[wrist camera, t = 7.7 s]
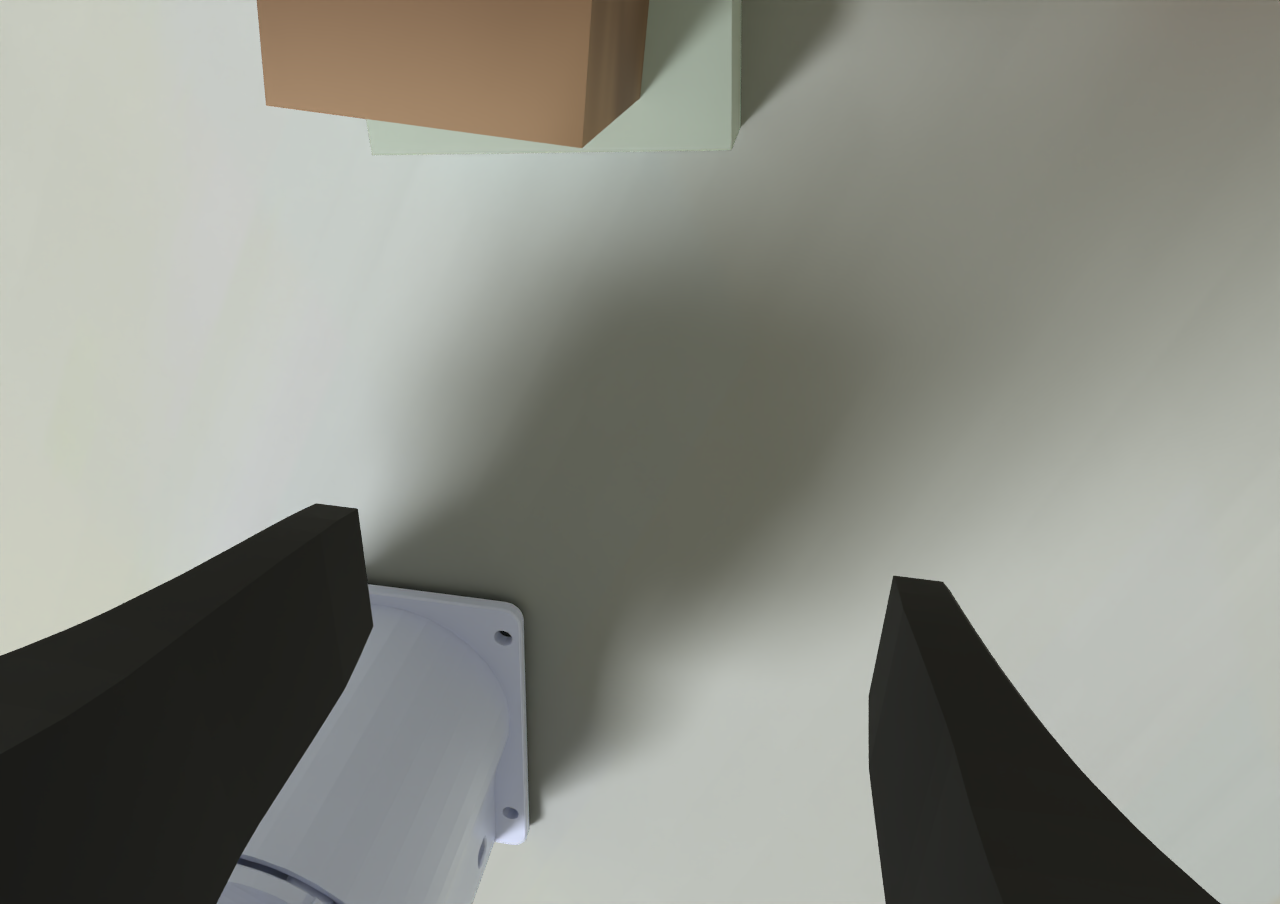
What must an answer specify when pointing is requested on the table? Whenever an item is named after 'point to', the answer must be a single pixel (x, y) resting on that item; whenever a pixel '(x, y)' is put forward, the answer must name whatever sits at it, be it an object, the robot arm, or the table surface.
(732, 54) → the base block
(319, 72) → the walnut block
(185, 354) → the table surface
